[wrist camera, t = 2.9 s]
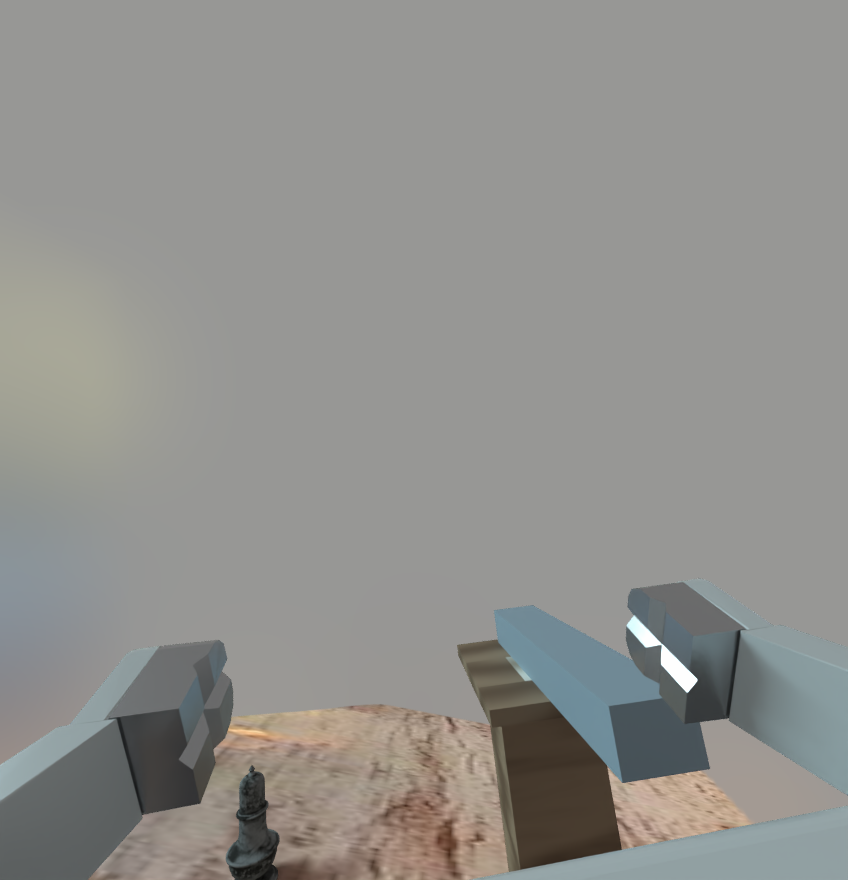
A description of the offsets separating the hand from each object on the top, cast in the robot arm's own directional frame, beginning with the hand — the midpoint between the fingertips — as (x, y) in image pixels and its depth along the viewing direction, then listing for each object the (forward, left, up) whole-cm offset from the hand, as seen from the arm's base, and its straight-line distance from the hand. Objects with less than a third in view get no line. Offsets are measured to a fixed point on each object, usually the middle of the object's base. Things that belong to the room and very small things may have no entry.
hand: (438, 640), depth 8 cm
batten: (+25, +1, -9) cm, 27 cm away
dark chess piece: (+37, +41, -36) cm, 65 cm away
